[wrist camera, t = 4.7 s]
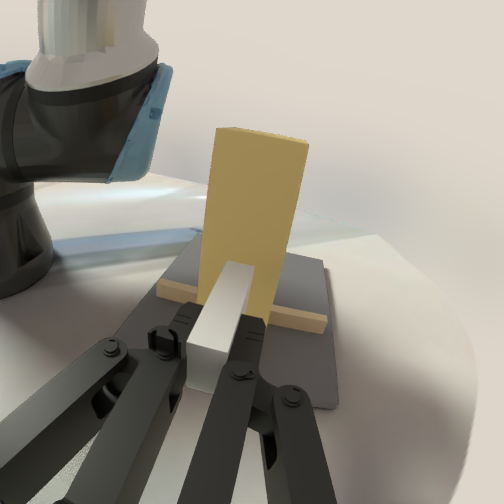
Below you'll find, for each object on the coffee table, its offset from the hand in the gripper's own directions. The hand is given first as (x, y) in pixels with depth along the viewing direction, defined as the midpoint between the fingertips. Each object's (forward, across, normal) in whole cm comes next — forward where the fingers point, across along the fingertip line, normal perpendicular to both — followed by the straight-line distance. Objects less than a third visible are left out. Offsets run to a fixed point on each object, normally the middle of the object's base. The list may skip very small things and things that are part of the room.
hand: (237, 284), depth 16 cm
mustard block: (+5, 0, -8) cm, 9 cm away
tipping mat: (+12, 0, -9) cm, 15 cm away
